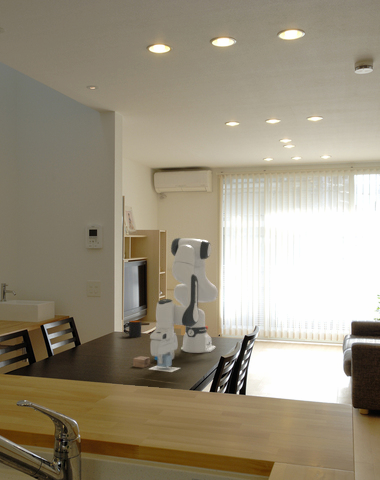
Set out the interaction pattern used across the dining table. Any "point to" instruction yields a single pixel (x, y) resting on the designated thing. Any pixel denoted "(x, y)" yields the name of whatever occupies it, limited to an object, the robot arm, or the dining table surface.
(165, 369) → the letter
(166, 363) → the cube
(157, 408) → the dining table surface
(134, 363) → the walnut block
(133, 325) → the mug
